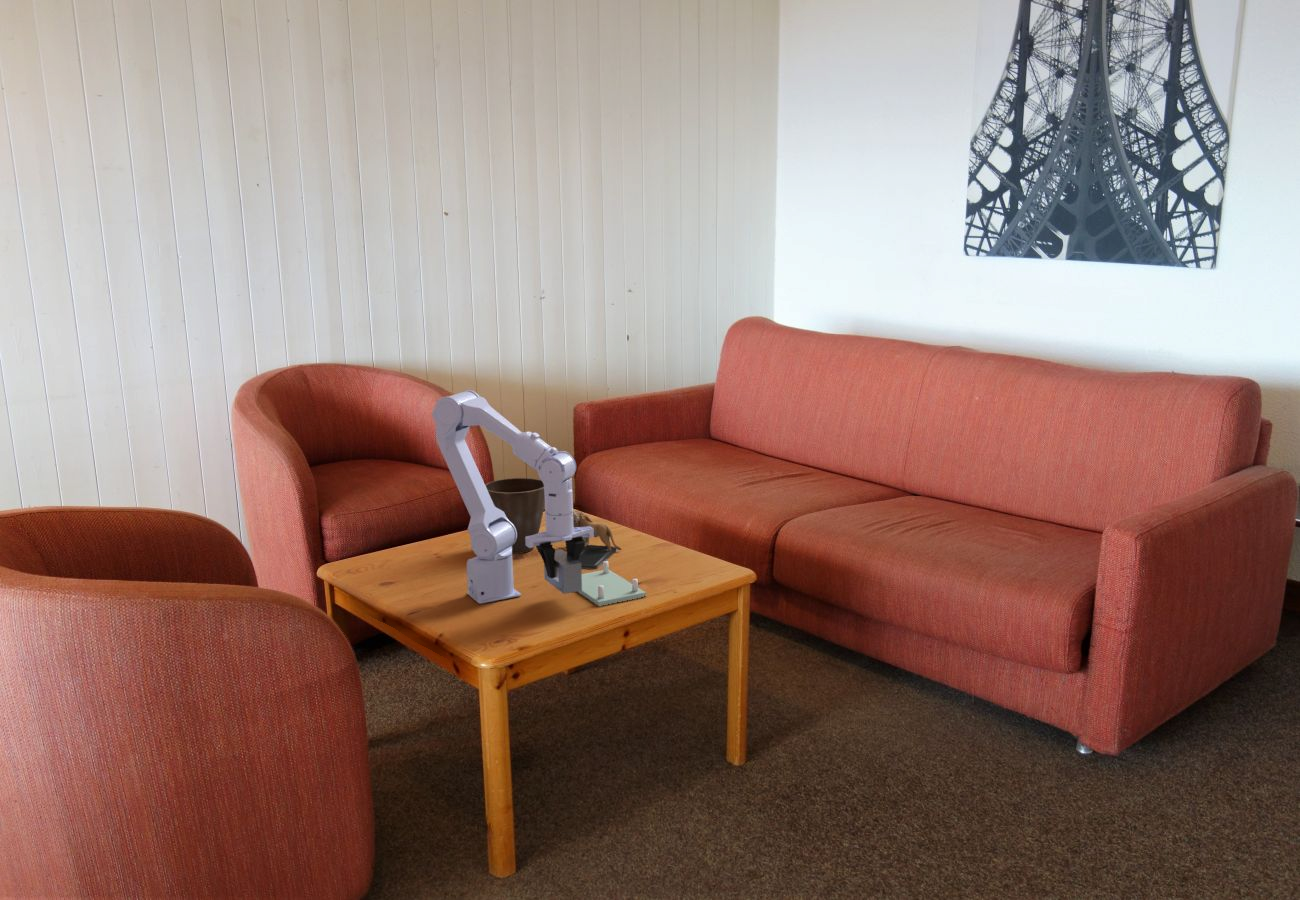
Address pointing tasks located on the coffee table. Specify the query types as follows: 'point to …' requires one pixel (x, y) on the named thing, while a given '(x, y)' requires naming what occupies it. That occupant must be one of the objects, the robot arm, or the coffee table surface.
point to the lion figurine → (599, 529)
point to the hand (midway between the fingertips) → (561, 574)
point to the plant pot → (520, 506)
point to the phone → (594, 556)
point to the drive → (565, 573)
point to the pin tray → (609, 587)
